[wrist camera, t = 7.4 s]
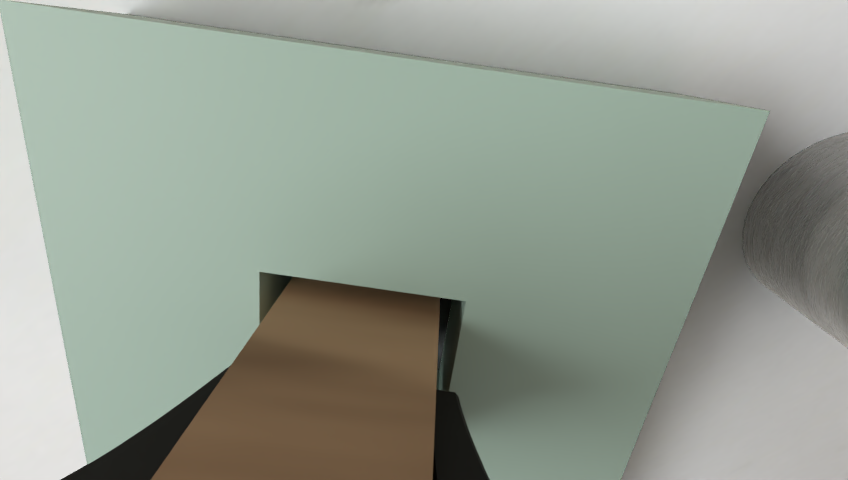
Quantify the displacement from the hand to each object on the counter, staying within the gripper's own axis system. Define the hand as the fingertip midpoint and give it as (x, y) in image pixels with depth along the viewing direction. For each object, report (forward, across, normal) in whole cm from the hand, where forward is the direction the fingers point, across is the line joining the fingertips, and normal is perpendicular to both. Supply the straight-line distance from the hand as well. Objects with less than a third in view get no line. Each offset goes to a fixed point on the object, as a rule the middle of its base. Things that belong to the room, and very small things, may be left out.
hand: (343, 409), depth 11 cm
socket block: (+6, 0, 0) cm, 6 cm away
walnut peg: (+3, 0, 0) cm, 3 cm away
